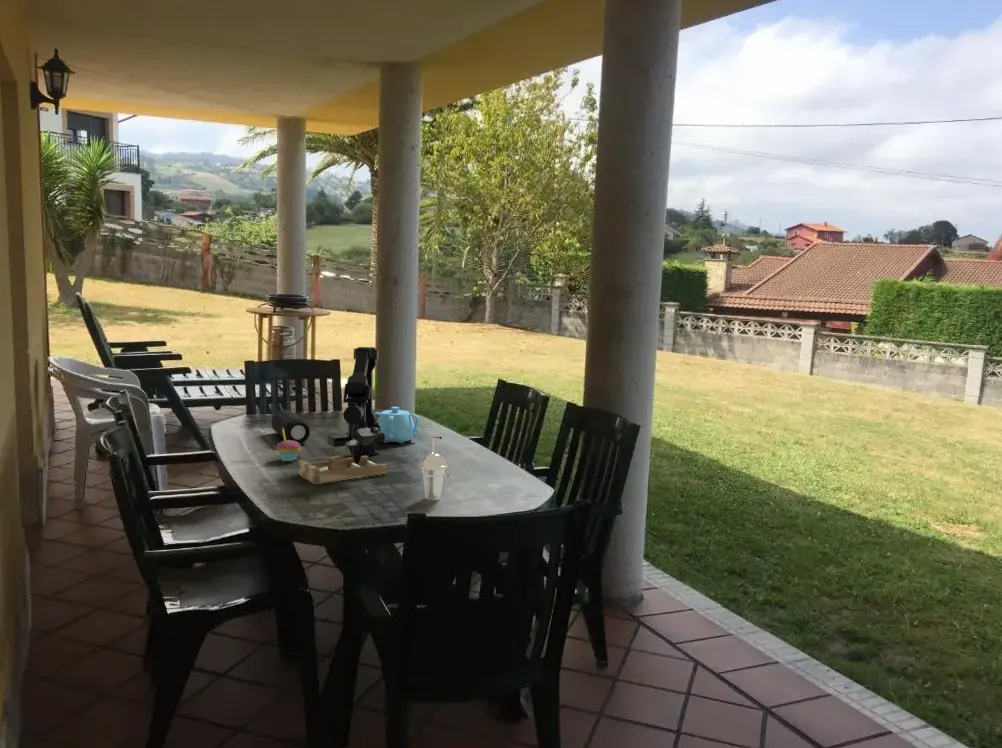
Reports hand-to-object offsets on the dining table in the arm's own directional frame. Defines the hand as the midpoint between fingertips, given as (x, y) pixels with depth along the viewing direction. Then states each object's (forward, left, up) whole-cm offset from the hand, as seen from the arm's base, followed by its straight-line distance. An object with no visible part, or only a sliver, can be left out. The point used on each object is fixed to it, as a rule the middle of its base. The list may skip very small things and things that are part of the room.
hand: (356, 463), depth 267 cm
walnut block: (0, -7, -1) cm, 7 cm away
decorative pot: (-36, +34, -3) cm, 50 cm away
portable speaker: (-59, 0, -3) cm, 59 cm away
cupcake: (-27, -13, -3) cm, 30 cm away
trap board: (0, -5, -3) cm, 6 cm away
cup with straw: (+38, +7, -3) cm, 39 cm away
